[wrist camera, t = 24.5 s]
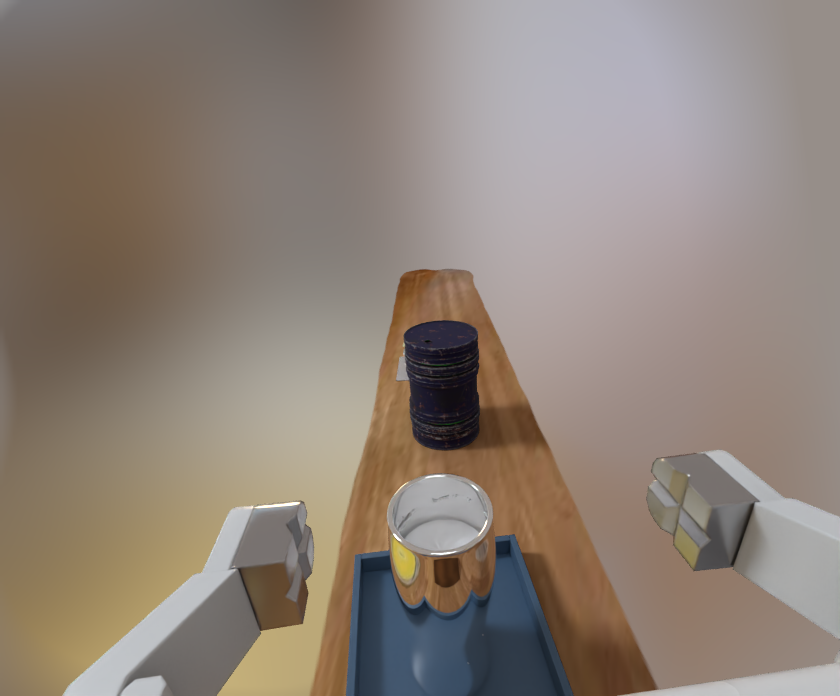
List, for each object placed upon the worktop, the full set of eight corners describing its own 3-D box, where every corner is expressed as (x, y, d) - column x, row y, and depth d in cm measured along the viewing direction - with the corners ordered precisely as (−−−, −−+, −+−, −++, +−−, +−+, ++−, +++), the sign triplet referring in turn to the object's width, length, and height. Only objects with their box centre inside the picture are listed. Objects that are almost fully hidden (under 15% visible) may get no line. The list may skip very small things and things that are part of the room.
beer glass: (391, 694, 30) (365, 545, 23) (418, 602, 36) (403, 464, 29) (489, 724, 28) (488, 569, 21) (500, 621, 34) (502, 478, 28)
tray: (514, 551, 40) (514, 533, 39) (599, 797, 24) (604, 778, 24) (358, 572, 39) (355, 554, 38) (344, 839, 24) (337, 821, 23)
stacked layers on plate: (399, 357, 83) (397, 331, 81) (444, 354, 83) (442, 329, 80) (396, 380, 74) (393, 353, 72) (445, 378, 74) (444, 350, 71)
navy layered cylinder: (437, 403, 66) (431, 316, 60) (492, 422, 60) (492, 326, 54) (397, 436, 59) (386, 340, 53) (456, 459, 53) (451, 355, 47)
